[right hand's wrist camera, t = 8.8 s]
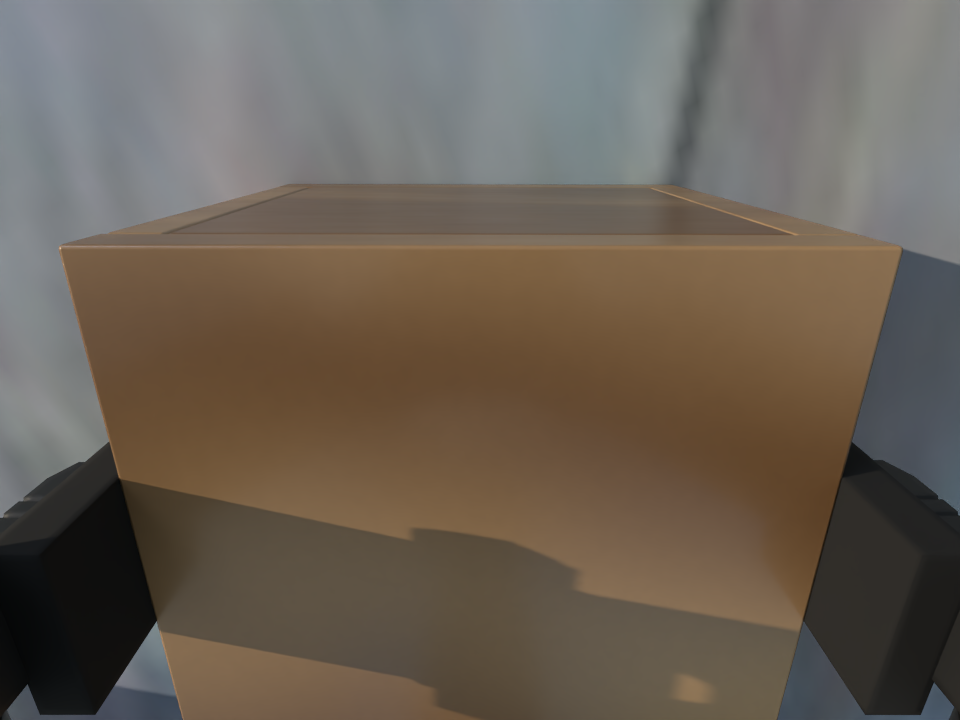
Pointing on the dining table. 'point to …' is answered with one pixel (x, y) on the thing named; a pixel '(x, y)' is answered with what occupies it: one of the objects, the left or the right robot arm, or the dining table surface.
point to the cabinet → (480, 444)
